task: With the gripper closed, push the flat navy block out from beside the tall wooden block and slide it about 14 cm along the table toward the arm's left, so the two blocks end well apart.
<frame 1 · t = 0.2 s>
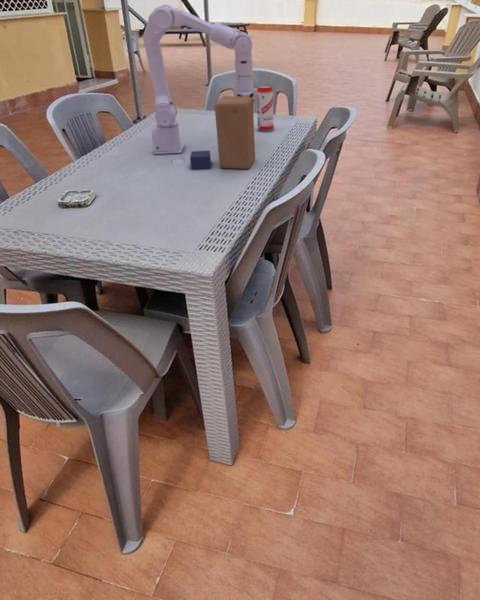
hand: (246, 118, 160), 10 cm above the table, tool pointing down, fingers open, 7 cm apart
navy block: (201, 166, 151), on the table
beer can: (265, 130, 183), on the table
wooden block: (237, 164, 151), on the table
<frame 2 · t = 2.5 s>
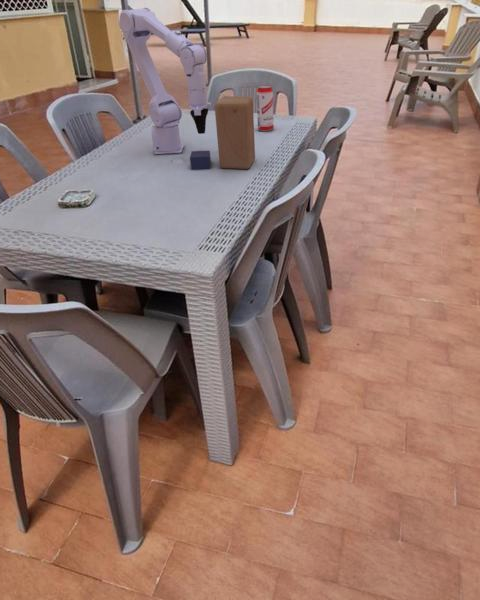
hand: (201, 133, 152), 8 cm above the table, tool pointing down, fingers closed
nothing on the table moved.
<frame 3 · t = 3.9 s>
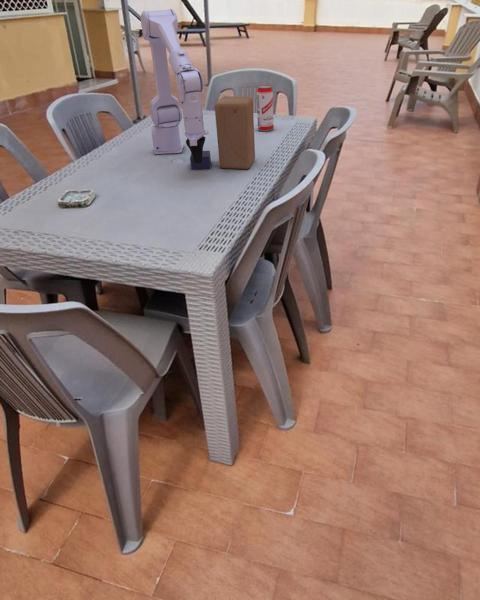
hand: (198, 162, 142), 4 cm above the table, tool pointing down, fingers closed
nothing on the table moved.
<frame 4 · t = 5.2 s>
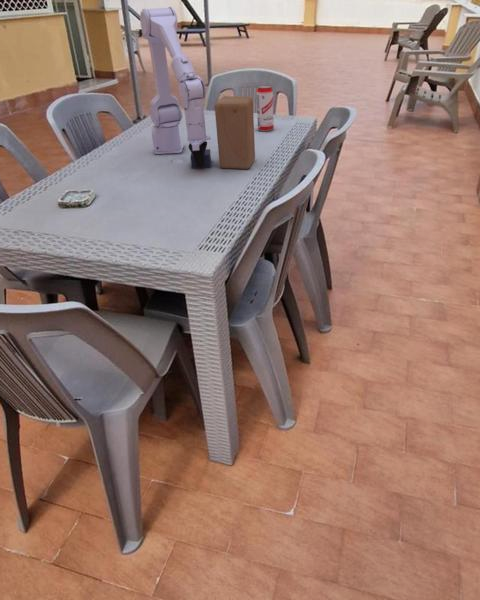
hand: (200, 166, 148), 1 cm above the table, tool pointing down, fingers closed
navy block: (201, 164, 152), on the table, touching gripper
everything else where it was.
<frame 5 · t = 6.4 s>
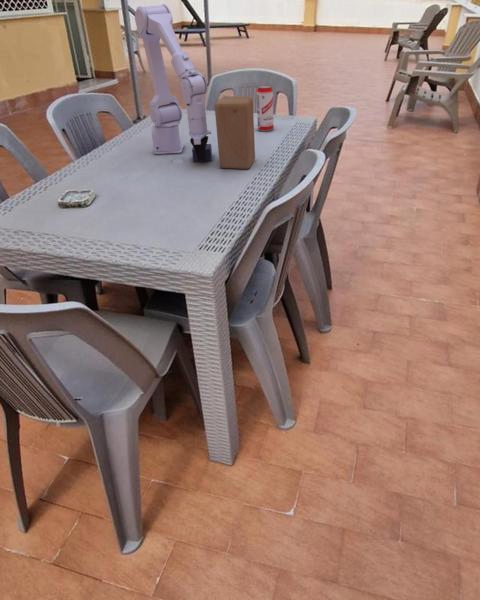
hand: (201, 160, 153), 1 cm above the table, tool pointing down, fingers closed
navy block: (202, 158, 157), on the table, touching gripper
everything else where it was.
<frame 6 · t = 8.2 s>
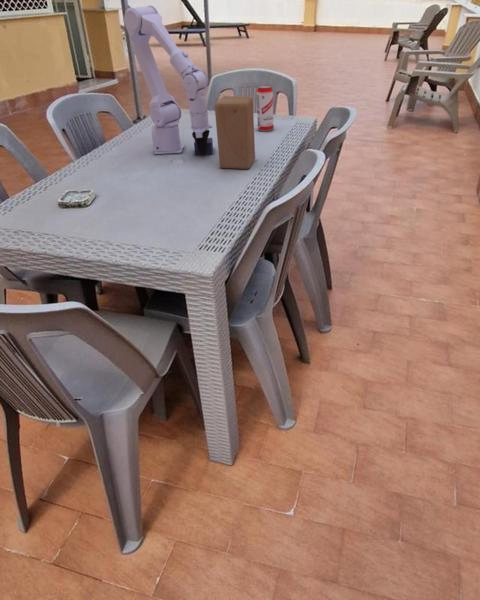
hand: (203, 153, 159), 1 cm above the table, tool pointing down, fingers closed
navy block: (204, 152, 163), on the table, touching gripper
everything else where it was.
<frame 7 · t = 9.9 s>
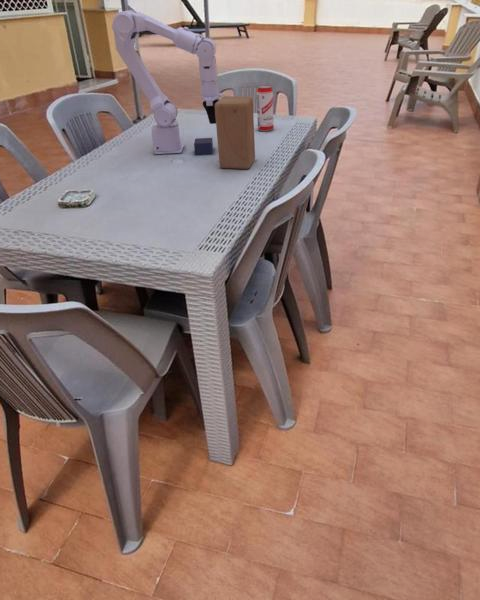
hand: (213, 123, 160), 9 cm above the table, tool pointing down, fingers closed
navy block: (204, 152, 163), on the table
everything else where it was.
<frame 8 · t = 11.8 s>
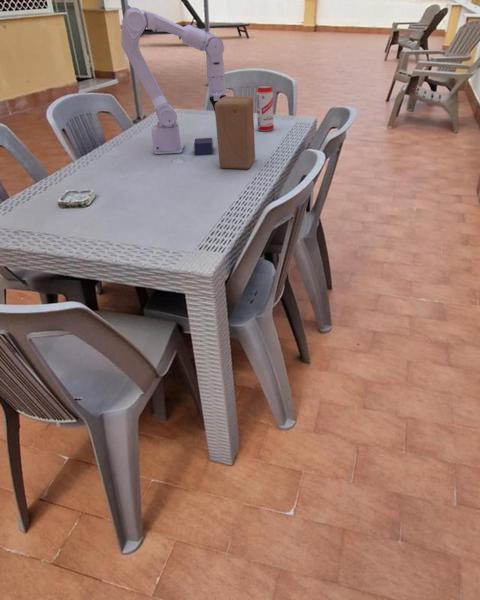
hand: (219, 118, 164), 9 cm above the table, tool pointing down, fingers closed
nothing on the table moved.
at the end: navy block inside the target area (1.0 cm from its centre), on the table; navy block tilted 0°; wooden block moved 0.2 cm from its start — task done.
